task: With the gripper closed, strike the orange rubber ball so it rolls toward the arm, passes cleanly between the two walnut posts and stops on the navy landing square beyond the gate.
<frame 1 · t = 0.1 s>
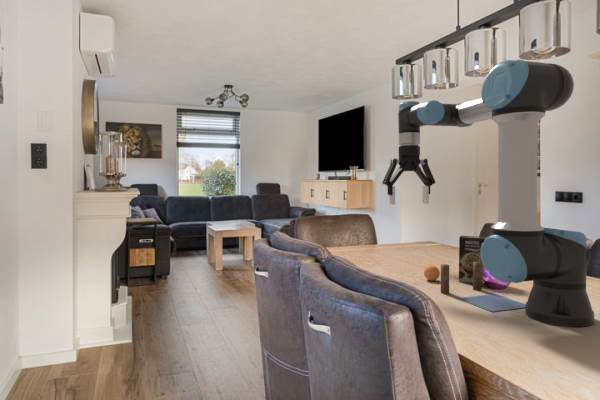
hand: (409, 204, 148), 28 cm above the table, tool pointing down, fingers open, 13 cm apart
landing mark: (493, 302, 119), on the table
post left: (444, 292, 131), on the table
post right: (477, 289, 134), on the table
ball: (431, 272, 148), on the table
coffee box: (472, 281, 146), on the table
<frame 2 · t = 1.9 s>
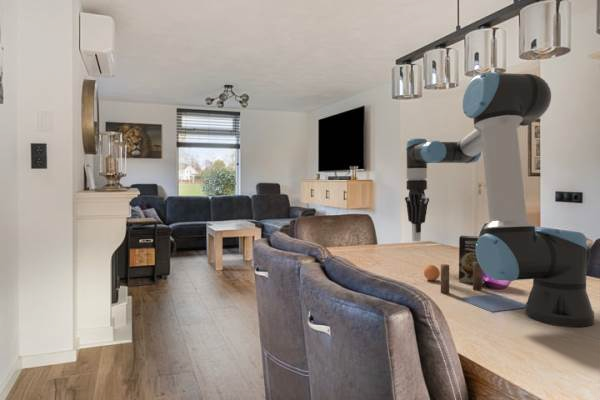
hand: (416, 240, 157), 13 cm above the table, tool pointing down, fingers closed
nothing on the table moved.
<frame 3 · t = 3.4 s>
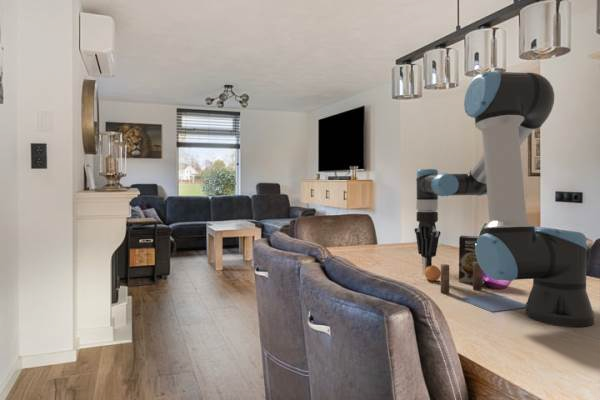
hand: (426, 274, 150), 2 cm above the table, tool pointing down, fingers closed
ball: (432, 273, 147), on the table, touching gripper
everything else where it was.
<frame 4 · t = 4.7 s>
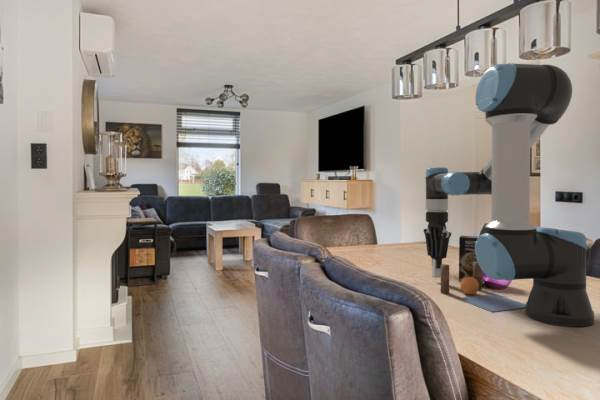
hand: (436, 276, 145), 2 cm above the table, tool pointing down, fingers closed
ball: (469, 285, 129), on the table
everything else where it was.
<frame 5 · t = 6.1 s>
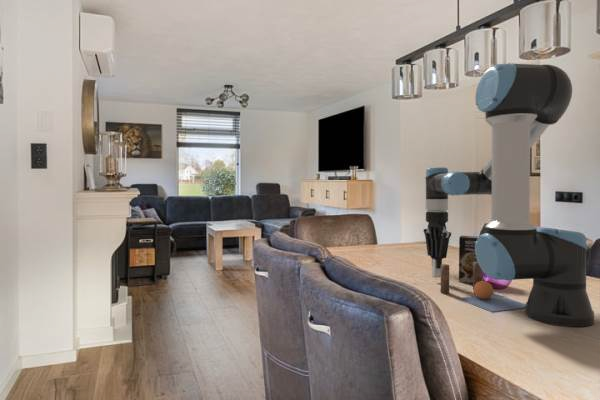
hand: (436, 276, 145), 2 cm above the table, tool pointing down, fingers closed
ball: (483, 290, 123), on the table
everything else where it was.
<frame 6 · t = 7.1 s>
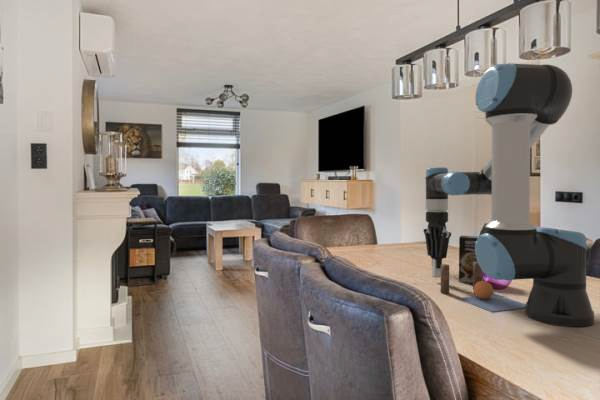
hand: (436, 276, 145), 2 cm above the table, tool pointing down, fingers closed
nothing on the table moved.
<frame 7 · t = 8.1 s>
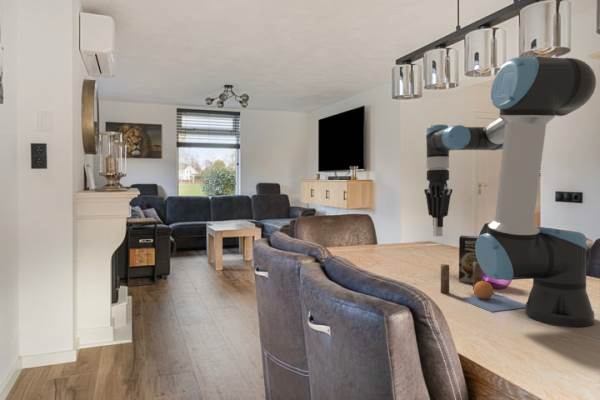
hand: (437, 236, 144), 17 cm above the table, tool pointing down, fingers closed
nothing on the table moved.
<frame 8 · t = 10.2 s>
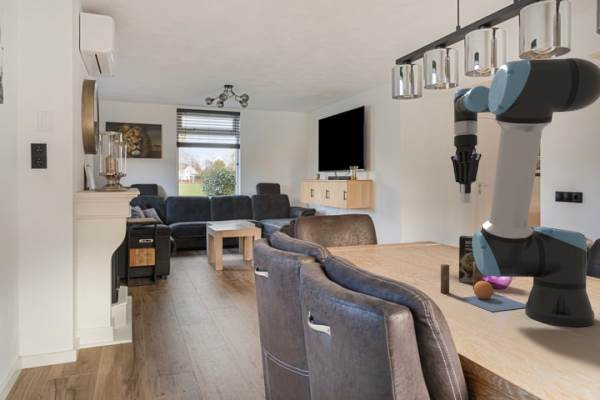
hand: (465, 202, 142), 28 cm above the table, tool pointing down, fingers closed
nothing on the table moved.
at the end: ball 4.1 cm from the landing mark (horizontally); ball never touched post left; ball never touched post right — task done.
